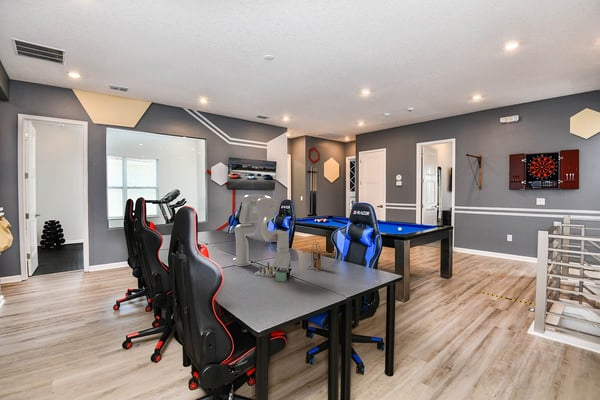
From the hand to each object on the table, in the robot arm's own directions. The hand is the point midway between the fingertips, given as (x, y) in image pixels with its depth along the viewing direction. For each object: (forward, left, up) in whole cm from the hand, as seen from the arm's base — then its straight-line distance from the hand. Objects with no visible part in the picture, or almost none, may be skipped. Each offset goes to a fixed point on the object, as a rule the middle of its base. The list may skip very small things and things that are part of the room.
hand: (283, 277), depth 190 cm
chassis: (-15, +8, -1) cm, 17 cm away
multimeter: (+9, +28, -1) cm, 29 cm away
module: (0, 0, -1) cm, 1 cm away
